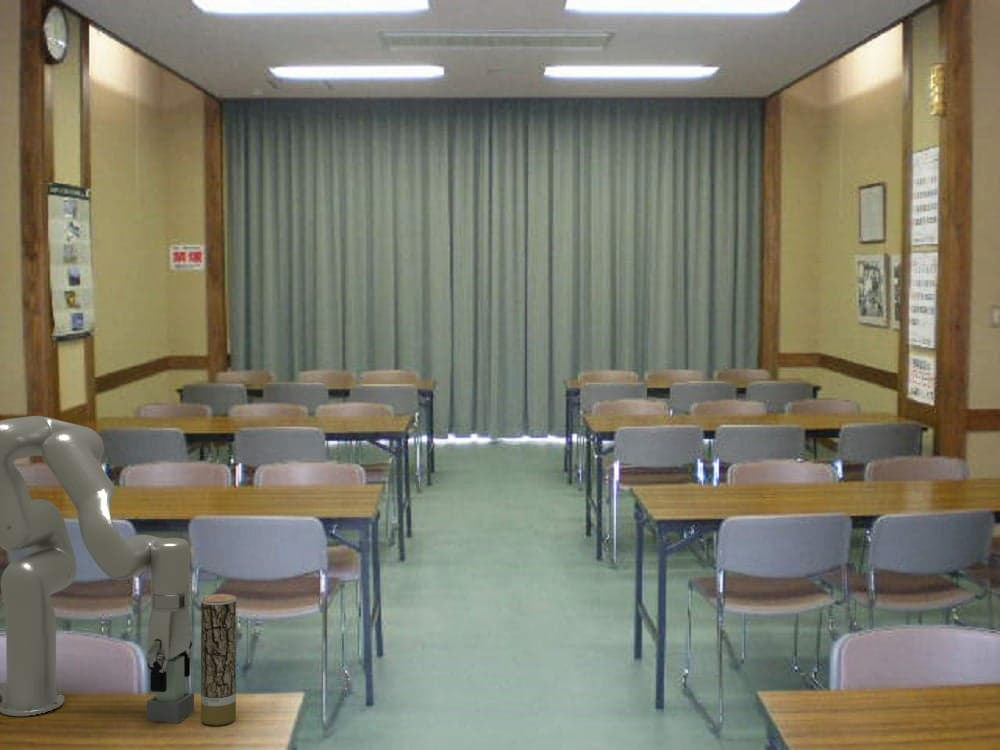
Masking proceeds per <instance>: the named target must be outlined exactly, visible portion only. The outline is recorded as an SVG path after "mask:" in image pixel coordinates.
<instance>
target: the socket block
mask: <svg viewBox="0 0 1000 750" xmlns="http://www.w3.org/2000/svg"><path fill="white" fill-rule="evenodd" d="M193 711H194V712H195V693H194V692H189V691H184V698H182V699H181V700H179V701H178V702H177V703H176V702H164V701H157V699H156V695H154V696H152V697H151V698H149V699H148V700H146V721H147V720H149V721H148V722H154V721H159V722H158V723H164V722H167V724H175V725H176V724H177V725H178V724H180V723H181V722H183V721H184V720H185V719H186V718H185V717H187V716H188V715H189V714H191V713H192V712H193ZM194 712H193V713H194ZM193 713H192V714H193ZM192 714H191V715H192ZM189 716H190V715H189ZM189 716H188V717H189ZM188 717H187V718H188ZM183 719H184V720H183ZM179 722H180V723H179Z"/></svg>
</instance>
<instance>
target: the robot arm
mask: <svg viewBox="0 0 1000 750" xmlns="http://www.w3.org/2000/svg"><path fill="white" fill-rule="evenodd" d="M104 450H105V445H104V441H103V439H102V437H101V436H100V434H98V432H96V430H94V429H92V428H90V427H87V426H84V425H80V424H77V423H76V424H75V423H72V422H67V421H64V420H59V419H56V418H51V417H46V416H42V415H30V416H29V415H28V416H22V417H14V418H13V417H12V418H6V419H2V420H0V548H1V549H2V550H5V551H7V552H17V551H22V550H25V549H28V552H29V553H28V554H26V555H23V556H21V557H19V558H17V559H15V560H13V561H12V562H11V563H10V564H8V565H7V566H6V568H5V569H4V571H3V572H2V575H1V579H0V589H1V595H2V601H3V605H4V612H5V614H4V615H5V635H6V638H5V641H6V644H5V645H6V650H5V651H6V654H5V655H6V656H5V658H6V659H5V660H6V683H5V682H4V683H3V682H0V696H1V701H0V713H1V714H2V715H5V716H9V717H10V716H11V717H30V716H29V715H33V716H37V715H36V714H39V715H41V714H40V713H44V714H46V713H45V712H47V711H50V710H53V709H55V708H57V707H58V706H60V705H61V704H62V703H63V702H64V703H65V696H64V695H63V694H62V693H60V692H57V619H56V613H55V609H54V607H53V604H52V602H51V601H52V600H51V596H52V595H54V594H56V593H58V592H60V591H63V590H64V589H66V588H68V587H69V586H71V584H72V583H73V582H74V581H75V578H76V575H77V571H78V566H77V560H76V556H75V552H74V549H73V545H72V541H71V539H70V536H69V535H70V534H69V531H68V529H67V526H66V525H67V524H66V523H65V519H64V517H63V514H62V513H61V510H60V509H59V508H58V507H57V506H56V505H55V504H54V503H53V502H51V501H50V500H47V499H44V498H43V499H42V498H34V499H31V497H30V493H29V491H28V486H27V483H26V480H25V478H24V476H23V474H21V472H20V470H19V469H18V468H17V467H16V466H15V461H17V460H19V459H21V460H22V459H25V458H26V459H27V458H31V457H35V456H38V457H42V458H43V461H44V462H45V464H46V466H47V467H48V469H49V470H50V471H51V473H52V474H53V476H54V478H55V479H56V480H57V481H58V483H59V486H61V488H62V489H63V491H64V492H65V495H67V497H68V498H69V500H70V501H71V502H72V504H73V505H74V507H75V508H76V511H77V521H78V526H79V531H80V535H81V539H82V542H83V544H84V546H85V548H86V550H87V552H88V553H89V554H90V556H91V558H92V559H93V560H94V562H95V563H96V565H97V566H98V568H100V570H101V571H102V572H103V573H104V574H105V575H106V576H108V577H109V578H110V579H113V580H117V581H125V580H128V579H130V578H133V577H135V576H138V575H139V574H141V573H145V572H148V571H150V609H151V610H150V612H149V613H150V614H149V620H148V627H147V628H148V629H147V639H146V641H147V642H146V643H147V645H146V654H145V655H146V656H145V659H146V662H147V668H148V671H149V673H150V677H149V679H150V680H149V681H150V682H149V683H150V684H149V685H150V691H151V692H165V691H166V690H167V681H166V672H164V670H165V667H166V664H167V662H168V660H170V659H172V658H174V657H176V656H184V678H188V677H190V676H191V662H190V661H191V657H192V651H191V650H192V646H193V642H192V641H193V637H194V631H193V630H191V616H190V615H191V614H190V606H191V603H190V601H191V600H190V597H191V596H190V595H191V594H190V592H191V589H190V587H191V579H190V577H191V576H190V575H191V574H190V573H191V567H190V566H191V563H190V562H191V560H190V559H191V558H190V557H191V555H190V554H191V551H190V550H191V549H190V544H189V541H187V539H184V538H181V537H180V538H179V537H166V538H163V537H158V536H154V535H149V534H136V535H133V536H131V537H128V538H125V539H124V538H123V536H122V535H121V534H120V533H119V531H118V529H117V528H116V526H115V524H114V522H113V519H112V516H111V504H112V500H113V497H114V495H115V492H116V486H115V484H114V483H113V481H112V480H111V479H110V477H109V475H107V472H106V471H105V470H104V468H103V467H102V465H101V463H100V462H99V461H100V460H101V459H102V457H103V455H104ZM157 661H162V663H161V666H160V664H159V663H158V662H157Z"/></svg>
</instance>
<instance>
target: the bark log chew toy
mask: <svg viewBox="0 0 1000 750" xmlns="http://www.w3.org/2000/svg"><path fill="white" fill-rule="evenodd" d="M200 605H201V606H200V607H201V609H200V614H201V615H200V618H201V619H200V620H201V621H200V627H201V628H200V629H201V630H200V633H201V634H200V643H201V644H200V648H201V649H200V650H201V651H200V655H201V658H200V663H201V664H200V689H201V690H200V692H201V693H200V703H201V705H200V706H201V708H200V709H201V711H200V713H201V714H200V718H201V721H202V723H203V724H205V725H207V726H214V727H215V726H218V727H219V726H223V725H228V724H231V723H233V722H234V721H235V720H236V716H237V597H236V596H235V595H234V594H229V593H215V594H208V595H205V596H202V597H201V602H200Z"/></svg>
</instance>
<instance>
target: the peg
mask: <svg viewBox="0 0 1000 750" xmlns="http://www.w3.org/2000/svg"><path fill="white" fill-rule="evenodd" d="M157 662H158V663H159V664H160V666H161V663H162V661H157ZM164 672H166V681H167V690H166V691H165V692H156V694H155V696H156V699H157V701H164V702H176V703H177V702H178V701H179V700H181V699H182V698H184V692H185V677H184V656H176V657H174V658H172V659H170V660H168V662H167V664H166V667H165V670H164Z"/></svg>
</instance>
